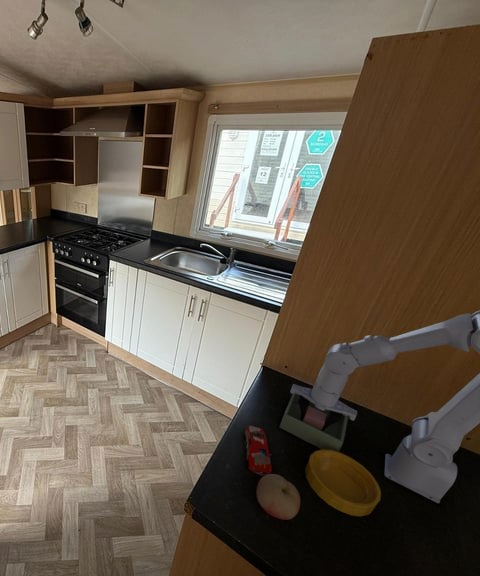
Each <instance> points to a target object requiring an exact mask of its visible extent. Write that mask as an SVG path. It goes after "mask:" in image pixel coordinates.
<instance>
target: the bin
mask: <svg viewBox="0 0 480 576" xmlns="http://www.w3.org/2000/svg"><path fill="white" fill-rule="evenodd" d="M299 398H300V395H298V394H296V393H295V394H291V396H290V399H289V402H288V405H287V406H286V409H285V411H284V414H283V415H282V419H281V421H280V424H279V429H282V430H283V431H285V432H287V433H289V434H291V435H293V436H295V437H297V438H299V439H301V440H303V441H305V442H307V443H308V444H311V445H312V446H315V447H317V448H318V449H319V450H322V449H326V450H333V451H336V452H340V450H341V448H342V447H343V444H344V440H345V436H346V430H347V425H348V420H349V417H348V416H345V415H342V419H341V420H340V421H339V422H336V423H333V424H331V425H330V426H328V427H327V428H326V429H325V430H324V431H323V430H321V431H320V430H318V429H316V428H314V427H312V426H310V425H308V424H306V423H304V422H302V420H300V418H301V410H300V406H299V403H298V401H299ZM309 406H310V407H312V408H314V409H317V410H319V411H321V412H323V413H325V414H327V415H328V413H329V411H330V410H327V409H325V411H323V410H320V409H318V408H316V407H315V406H316V405H315V404H314V403H312V402H311V401H310V403H309ZM307 409H308V408H307ZM306 411H307V410H306ZM326 417H327V416H326Z"/></svg>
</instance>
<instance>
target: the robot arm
mask: <svg viewBox="0 0 480 576" xmlns="http://www.w3.org/2000/svg"><path fill="white" fill-rule="evenodd" d="M445 345H446V346H450V347H452V348H455V349H458V350H461V351H464V352H466V353H470V347H472V348H473V349H474V351H475V352H477V353H478V354H479V355H480V310H477V311H475V312H474V313H472V314H471V312H469V313H463V314H459V315H457V316H454V317H452V318H449V319H446V320H444V321H440V322H438V323H434V324H431V325H428V326H424V327H422V328H418V329H415V330H412V331H408V332H405V333H402V334H399V335H395V336H393V337H387V336H384V335H375V336H372V334H369V335H365V336H364V338H363V339H360V340H356V341H353V342H349V343H348V342H343V343H335V344H333V345H332V346H330V347H329V348H328V351H327V353H326V355H325V357H324V362H323V364H322V366H321V368H320V370H319V373H318V375H317V377H316V380H315V382H314V385H313V386H312V388H310V387H305V386H301V385H298V384H295V383H292V386H291V388H290V391H289V393H290V394H291V395H293V394H295V393H296V394H298V395H300V398H299V401H298V403H299V406H300V410H301V418H300V420H302V421H303V419H304V417H305V414H306V410H307V408H308V406H309V403H310V401H311V402H312V403H314V404H315V405H316V406H315V407H316V408H318V409H320V410H323V411H325V409H327V410H330V411H329V413H328V415H327V417H326V420H325V423H324V426H323V428H322V430H323V431H324V430H325V429H326V428H327V427H328V426H330V425H331V424H333V423H336V422H339V421H340V420H341V419H342V415H345V416H348V420H351V421H355V420H356V417H358V410H356V409H354V408H352V407H350V406H349V405H347V404H345V403H344V402H342V401H341V400H339V399H340V397H341V395H342V393H343V391H344V389H345V386H346V384H347V382H348V380H349V375H351V374H352V373H354V371H355V370H356V369H357V368H358V369H359V368H362V367H368V366H372V365H377V364H382V363H386V362H391V361H394V360H395V359H396V357H397V355H398V354H400V353H406V352H411V351H417V350H422V349H427V348H434V347H440V346H445ZM479 424H480V372H479V373H478V374H476V376H475V377H474V378H472V379H471V380H470V381H469V382H468V383H467V384H466V385H465V386H464V387H463V388H462V389H461V390H459V391H458V392H457V393H456V394H455V395H454V396H453V397H451V399H450V400H448V401H447V402H446V403H445V404H444V405H443V406H442V407H441V408H439V410H437V411H430V412H429V413H428V414H426V415H424V416H419V417H417V418H414V419H413V420H412V422H411V426H410V427H411V434H409V435H407V436H405V437H404V438H403V439H402V440H401V442H400V444H399V445H398V447H396V450H395V452H394V453H393V454H392V455H391V454H389V453H386V454H385V456H384V457H385V458H384V477H385V478H387V479H389V480H391V481H393V482H395V483H397V484H399V485H401V486H402V487H405V488H407V489H409V490H411V491H413V492H414V493H417V494H419V495H421V496H422V497H425V498H426V499H429V500H431V501H433V502H434V503H437V504H440V503H441V500H442V498H443V497H444V496H445V495H446V493H447V492H448V491H449V490H450V489H451V488H452V486H453V485H454V483H455V481H456V479H457V476H458V466H457V464H456V462H453V457H454V454H455V453H456V452H457V451H458V450H459V449H460V446H461V444H462V443H463V439H464V437H465V436H466V435H467V434H468V433H469V432H471V431H472V430H473V429H475V427H477V426H478V425H479Z"/></svg>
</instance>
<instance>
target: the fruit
mask: <svg viewBox="0 0 480 576" xmlns="http://www.w3.org/2000/svg"><path fill="white" fill-rule="evenodd" d="M256 499H257V502H258V504H259V505H260V507H261V509H262V510H264V512H265V513H267V514H268V515H270V516H271V517H273V518H276V519H280V520H283V521H288V520H292V519H293V518H295V517H296V516H297V514H298V513H299V511H300V509H301V508H300V507H301V495H300V493H299V491H298V489H297V488H296V486H295V485H294V484H293V483H291V482H290V481H288V480H287V479H286V478H284V477H283V476H281V475H280V474H277V473H276V474H275V473H270V474H268V475H265V476H261V478H260V479H259V481H258V484H257V485H256Z"/></svg>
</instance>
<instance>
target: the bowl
mask: <svg viewBox="0 0 480 576" xmlns="http://www.w3.org/2000/svg"><path fill="white" fill-rule="evenodd" d="M304 473H305V478H306V480H307V482H308V484H309V486H310V487H311V489H312V490H313V492H315V494H316V495H317V496H318V497H319V498H320V499H322V500H323V501H324V502H325V503H326V504H327V505H328V506H331V508H333V509H335V510H337V511H339V512H342V513H343V514H347V515H349V516H354V517H364V516H368V515H371V514H372V512H373V511H374V510H375V509H376V507H377V505H378V504H379V503H380V502H381V497H382V491H381V487H380V486H379V483H378V482H377V480H376V479H375V477H374V476H373V474H372V473H371V472H370V471H369V470H368V469H366V467H364V465H362V464H361V463H359V462H358V461H356V460H355V459H353V457H350V456H349V455H346V454H344V453H342V452H340V451H339V452H336V451H333V450H326V449H318V450H315V451H314V452H313V453H311V454H310V455H309V458H308V460H307V462H306V465H305V467H304Z"/></svg>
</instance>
